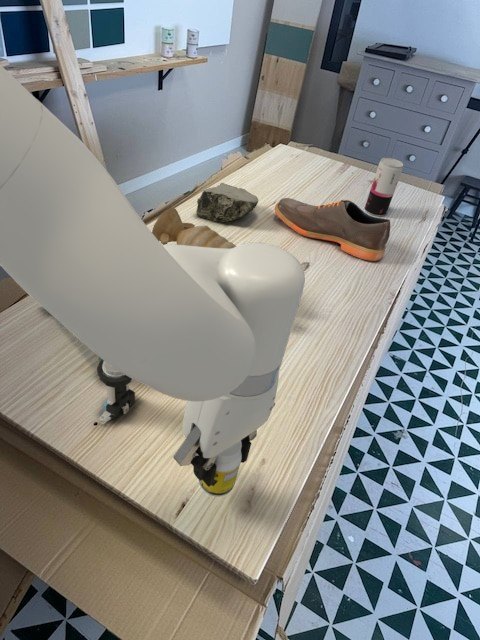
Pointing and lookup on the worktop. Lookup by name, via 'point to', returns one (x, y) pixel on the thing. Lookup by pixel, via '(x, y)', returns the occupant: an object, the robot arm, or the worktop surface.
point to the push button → (115, 391)
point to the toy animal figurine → (186, 232)
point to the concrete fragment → (225, 203)
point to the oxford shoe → (338, 226)
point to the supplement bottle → (225, 471)
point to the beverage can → (383, 186)
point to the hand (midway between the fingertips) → (220, 464)
